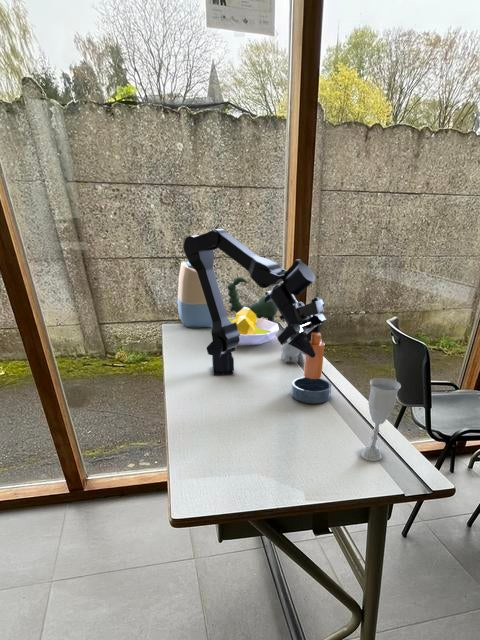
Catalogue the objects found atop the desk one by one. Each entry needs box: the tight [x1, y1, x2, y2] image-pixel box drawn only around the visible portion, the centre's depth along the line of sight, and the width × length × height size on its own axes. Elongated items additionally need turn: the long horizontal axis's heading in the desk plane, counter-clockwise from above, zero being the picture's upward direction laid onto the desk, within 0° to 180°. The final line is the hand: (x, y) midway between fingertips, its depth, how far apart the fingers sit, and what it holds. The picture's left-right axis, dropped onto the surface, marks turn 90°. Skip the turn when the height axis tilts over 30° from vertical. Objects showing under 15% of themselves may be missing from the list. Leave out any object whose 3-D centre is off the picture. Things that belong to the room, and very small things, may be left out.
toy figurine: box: [227, 276, 279, 322], centre depth 194 cm, size 9×19×25 cm
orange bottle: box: [303, 332, 326, 379], centre depth 125 cm, size 5×5×12 cm
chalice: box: [360, 377, 402, 462], centre depth 100 cm, size 7×7×18 cm
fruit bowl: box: [207, 307, 280, 347], centre depth 172 cm, size 28×27×11 cm
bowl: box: [291, 376, 332, 405], centre depth 132 cm, size 12×12×4 cm
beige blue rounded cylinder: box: [177, 261, 213, 328], centre depth 184 cm, size 17×17×23 cm
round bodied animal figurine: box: [280, 338, 306, 364], centre depth 156 cm, size 7×12×8 cm, turn 98°
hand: (318, 354), depth 124 cm, fingers closed on orange bottle, 5 cm apart
